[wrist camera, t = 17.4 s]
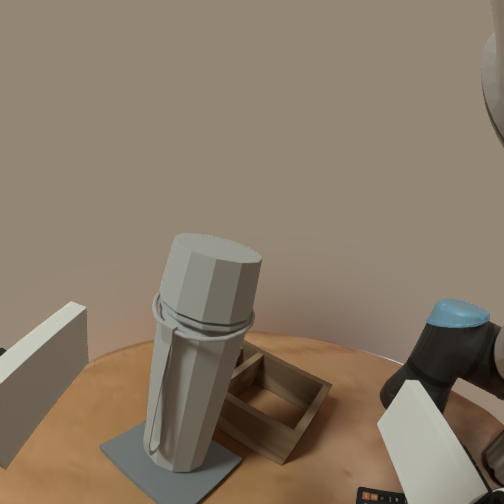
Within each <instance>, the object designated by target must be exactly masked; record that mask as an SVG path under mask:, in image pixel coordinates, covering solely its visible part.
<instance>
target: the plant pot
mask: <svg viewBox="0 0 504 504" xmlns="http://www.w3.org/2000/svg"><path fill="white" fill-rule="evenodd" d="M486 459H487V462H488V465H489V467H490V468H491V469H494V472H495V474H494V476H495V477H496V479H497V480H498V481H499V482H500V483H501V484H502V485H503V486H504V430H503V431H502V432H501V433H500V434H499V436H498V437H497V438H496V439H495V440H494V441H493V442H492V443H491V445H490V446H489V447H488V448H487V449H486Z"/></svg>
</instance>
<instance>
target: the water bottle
mask: <svg viewBox="0 0 504 504" xmlns="http://www.w3.org/2000/svg"><path fill="white" fill-rule="evenodd" d="M261 262H262V257H261V256H260V255H259V254H258V253H257V252H256V251H255V250H253V249H250V248H248V247H246V246H244V245H242V244H240V243H237V242H234V241H230V240H227V239H224V238H220V237H216V236H211V235H205V234H198V233H197V234H196V233H182V234H179V235H176V236H175V238H174V241H173V245H172V248H171V251H170V254H169V258H168V261H167V265H166V268H165V271H164V275H163V278H162V282H161V286H160V291H159V292H158V293H157V294H156V295H155V297H154V300H153V305H152V308H153V312H154V316H155V319H156V320H157V327H156V334H155V342H154V349H153V358H152V366H151V376H150V386H149V396H148V409H147V421H146V426H145V432H144V438H143V444H144V450H145V452H146V453H147V454H148V455H149V457H150V458H151V459H152V460H153V461H154V462H155V464H156V465H158V466H160V467H162V468H165V469H167V470H169V471H172V472H189V471H191V470H193V469H195V468H197V467H199V466H201V465H202V463H203V460H204V458H205V456H206V454H207V451H208V448H209V445H210V442H211V439H212V436H213V433H214V430H215V427H216V424H217V421H218V418H219V415H220V412H221V409H222V405H223V402H224V399H225V396H226V393H227V390H228V387H229V384H230V381H231V378H232V375H233V371H234V368H235V365H236V362H237V359H238V356H239V353H240V349H241V346H242V343H243V340H244V337H245V334H246V331H247V330H248V329H250V328H251V327H252V326H253V323H254V318H255V314H254V311H253V303H254V298H255V293H256V288H257V283H258V278H259V272H260V267H261ZM160 296H161V303H160V307H159V313H158V310H157V302H158V299H159V297H160ZM249 321H250V322H249ZM248 323H249V324H248Z"/></svg>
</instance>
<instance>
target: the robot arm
mask: <svg viewBox="0 0 504 504" xmlns="http://www.w3.org/2000/svg"><path fill="white" fill-rule="evenodd" d="M491 5H492V11H493V18H494V27H495V32H494V33H493V34H492V35H491V36H490V38H489V39H488V41H487V42H486V45H485V48H484V50H483V55H482V60H481V79H482V87H483V95H484V100H485V105H486V109H487V112H488V115H489V118H490V121H491V124H492V126H493V128H494V130H495V132H496V135H497V136H498V138H499V140H500V142H501V144H502V146H503V147H504V0H491ZM86 309H87V308H86V307H84V306H82V305H79V304H77V303H74V302H72V301H71V302H70V303H68V304H67V305H66V306H64V307H63V308H61V309H60V310H59V311H57V312H56V313H55V314H54V315H52V316H51V317H49V318H48V319H47V320H46V321H44V322H43V323H42V324H40V325H39V326H38V327H36V328H35V329H34V330H33V331H31V332H30V333H29V334H27V335H26V336H25V337H24V338H22V339H21V340H20V341H19V342H17V343H16V344H15V345H14V346H12V347H11V348H10V349H9V350H8V351H6V350H5V349H3V348H0V466H1V467H2V468H3V469H5V470H6V469H7V467H8V466H9V465H10V463H11V462H12V460H13V459H14V457H15V456H16V455H17V453H18V452H19V450H20V449H21V448H22V446H23V445H24V444H25V442H26V441H27V440H28V438H29V437H30V435H31V434H32V433H33V431H34V430H35V429H36V427H37V426H38V425H39V424H40V422H41V421H42V420H43V418H44V417H45V416H46V414H47V413H48V412H49V411H50V409H51V408H52V407H53V405H54V404H55V403H56V402H57V400H58V399H59V398H60V397H61V395H62V394H63V393H64V392H65V390H66V389H67V388H68V387H69V385H70V384H71V383H72V382H73V381H74V379H75V378H76V377H77V376H78V375H79V373H80V372H81V371H82V370H83V368H84V367H85V366H86V365H87V364H88V363H89V361H88V345H87V310H86ZM489 316H490V314H489V313H488V311H486V310H485V309H482V308H480V307H478V306H476V305H473V304H470V303H467V302H464V301H460V300H454V299H441V300H439V301H438V302H437V303H436V304H435V306H434V308H433V310H432V312H431V314H430V316H429V317H428V318H427V320H426V322H427V323H426V325H425V328H424V329H423V331H422V333H421V336H420V337H419V339H418V341H417V344H416V345H415V347H414V349H413V351H412V353H411V355H410V357H409V358H408V360H407V362H406V363H405V364H404V365H403V366H402V367H401V368H400V369H399V370H398V371H397V372H396V373H395V374H394V375H393V376H391V377H390V378H389V379H388V380H387V381H386V383H385V384H384V386H383V388H382V389H381V392H380V398H381V401H382V404H383V405H384V407H385V408H386V412H385V413H384V415H383V416H382V417H381V419H380V420H379V422H378V423H377V425H378V428H379V430H380V433H381V435H382V437H383V440H384V442H385V445H386V447H387V450H388V452H389V455H390V457H391V460H392V462H393V465H394V467H395V470H396V472H397V475H398V478H399V480H400V483H401V485H402V488H403V491H404V493H405V496H406V499H407V502H408V504H504V491H501V490H497V491H494V492H492V490H491V489H490V487H489V485H488V484H487V482H486V480H485V478H484V477H483V475H482V473H481V471H480V470H479V468H478V466H476V463H475V461H474V460H473V459H472V456H471V455H470V453H469V451H468V450H467V448H466V447H465V446H464V445H463V444H461V443H460V442H459V441H458V439H457V437H456V436H455V434H454V433H453V431H452V430H451V428H450V426H449V425H448V423H447V422H446V420H445V419H444V417H443V416H442V414H443V412H444V409H445V406H446V403H447V400H448V397H449V394H450V390H451V388H452V386H453V385H454V383H455V381H456V380H457V378H458V377H459V378H462V379H463V380H466V381H467V382H469V383H472V384H473V385H475V386H477V387H479V388H481V389H483V390H485V391H487V392H489V393H491V394H493V395H495V396H496V397H497V398H499V399H501V400H504V326H503V328H502V327H500V326H498V325H496V324H494V323H491V322H490V321H489V319H490V318H489Z"/></svg>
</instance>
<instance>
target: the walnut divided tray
mask: <svg viewBox="0 0 504 504" xmlns="http://www.w3.org/2000/svg"><path fill="white" fill-rule="evenodd" d="M241 347H242V351H241V354H240V357H238V359H237V362H236V364H237V368H236V369H234V371H233V375H232V378H231V381H230V384H229V387H228V390H227V393H226V396H225V399H224V402H223V405H222V409H221V412H220V415H219V418H218V421H217V424H216V427H217V428H218V429H220V430H221V431H223V432H224V433H226V434H227V435H229V436H231V437H232V438H234V439H235V440H237V441H239V442H240V443H242V444H244V445H245V446H247V447H249V448H250V449H252V450H254V451H256V452H257V453H259V454H261V455H263V456H264V457H266V458H268V459H270V460H272V461H274V462H276V463H277V464H279V465H281V466H282V464H283V463H284V461H285V460H286V459H287V457H288V456H289V454H290V453H291V451H292V450H293V449H294V447H295V446H296V444H297V443H298V441H299V440H300V438H301V437H302V435H303V434H304V432H305V430H306V429H307V427H308V426H309V424H310V423H311V421H312V419H313V418H314V416H315V415H316V413H317V411H318V410H319V408H320V406H321V404H322V403H323V401H324V399H325V397H326V395H327V394H328V392H329V390H330V388H331V386H332V384H330V383H328V382H326V381H324V380H322V379H320V378H318V377H316V376H313V375H311V374H309V373H307V372H305V371H303V370H301V369H299V368H297V367H295V366H293V365H291V364H289V363H287V362H285V361H283V360H281V359H279V358H277V357H275V356H273V355H272V354H270V353H268V352H266V351H264V350H262V349H260V348H258V347H256V346H255V345H253V344H251V343H249V342H247V341H245V340H243V343H242V346H241ZM253 382H254V383H256V384H258V385H260V386H262V387H263V388H265V389H267V390H269V391H271V392H273V393H274V394H276V395H278V396H280V397H282V398H284V399H286V400H288V401H290V402H291V403H293V404H295V405H297V406H299V407H301V408H303V409H305V410H307V411H306V413H305V414H304V416H303V417H302V419H301V420H300V422H299V423H298V425H297V426H296V427H295V429H292V428H290V427H288V426H286V425H284V424H282V423H280V422H278V421H276V420H275V419H273V418H271V417H269V416H267V415H265V414H264V413H262V412H260V411H258V410H257V409H255V408H253V407H251V406H250V405H248V404H246V403H245V402H243V401H241V400H240V399H238V398H236V396H237V395H239V394H240V393H241V392H242V391H244V390H245V389H246V388H247V387H248V386H249V385H251V384H252V383H253Z"/></svg>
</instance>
